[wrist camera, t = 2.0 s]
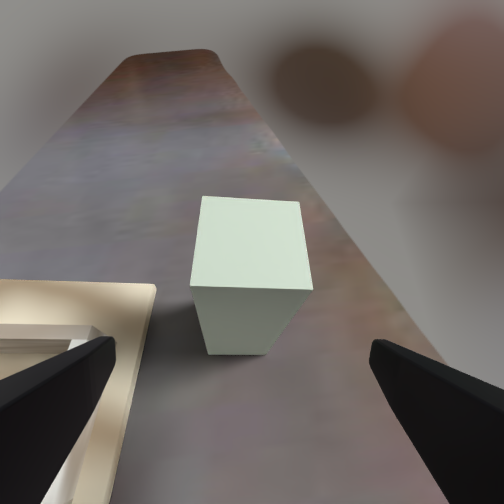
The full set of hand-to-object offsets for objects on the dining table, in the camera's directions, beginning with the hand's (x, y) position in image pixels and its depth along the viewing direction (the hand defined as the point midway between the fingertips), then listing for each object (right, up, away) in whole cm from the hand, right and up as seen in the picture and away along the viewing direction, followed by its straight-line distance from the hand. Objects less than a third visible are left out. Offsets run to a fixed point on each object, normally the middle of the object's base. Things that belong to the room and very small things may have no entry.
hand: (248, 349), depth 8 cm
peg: (-1, -3, +11) cm, 12 cm away
